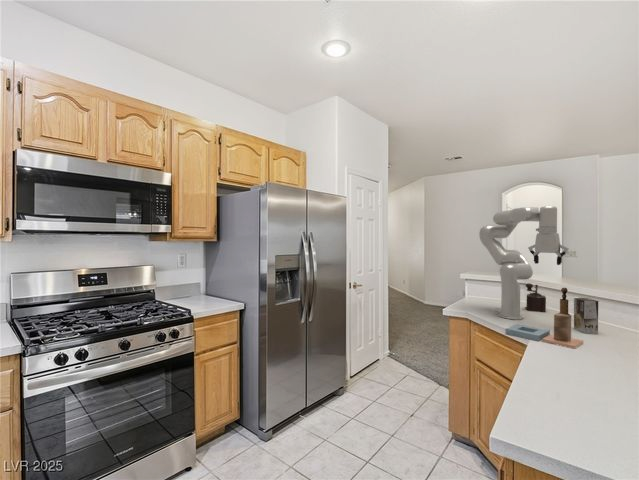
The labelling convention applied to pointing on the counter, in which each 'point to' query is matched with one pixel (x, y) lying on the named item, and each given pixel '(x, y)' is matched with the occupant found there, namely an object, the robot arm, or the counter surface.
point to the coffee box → (586, 315)
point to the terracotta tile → (572, 343)
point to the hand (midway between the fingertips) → (547, 264)
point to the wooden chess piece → (564, 302)
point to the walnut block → (562, 327)
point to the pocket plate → (527, 332)
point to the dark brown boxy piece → (535, 300)
